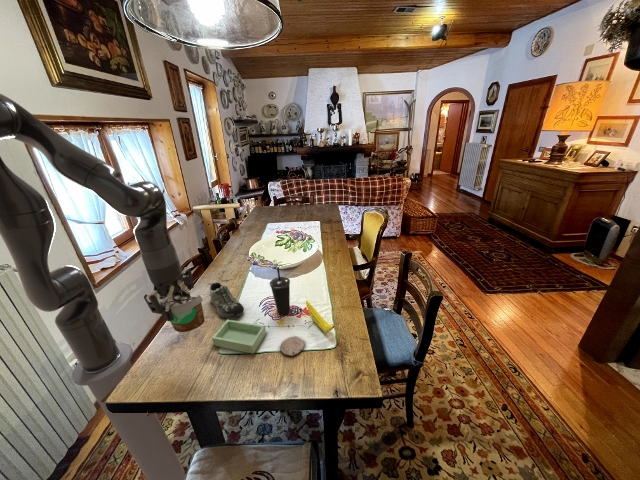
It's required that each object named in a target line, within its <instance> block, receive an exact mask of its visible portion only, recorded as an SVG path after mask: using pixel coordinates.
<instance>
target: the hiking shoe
mask: <svg viewBox="0 0 640 480" xmlns="http://www.w3.org/2000/svg"><path fill="white" fill-rule="evenodd" d="M209 294H210V302H211V304H212V305H214V306H215V307H216V309H217V314H218V315H219V317H220V318H223V319H226V320H235V319H238V318H239V317H240V316H242V314H244V311H245V307H244V306H243V304H242V303H240V301H238V300H237V298H236V297H235V296H233V294H232V292H231V291H230V289H229V287H228V286H227V285H224V284H223V285H222V284H221V283H220V282H214V283H211V284H210V286H209Z"/></svg>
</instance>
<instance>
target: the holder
mask: <svg viewBox="0 0 640 480" xmlns="http://www.w3.org/2000/svg"><path fill="white" fill-rule="evenodd" d="M266 335H267V330H266V325H263V324H262V325H261V324H257V323H250V322H245V321H238V320H234V319H226V321H225V322H224V323H223V324H222V325H221V327H219V329H218V330H217V331H216V332H215V334H213V336H212V337H211V340H212V344H213V346H215V347H220V348H223V349H229V350H234V351H238V352H243V353H247V354H252V355H254V354H255V353H256V351H257V349H258V348H259V346H260V345H261V343H262V341H263V339H264V338H265V336H266Z"/></svg>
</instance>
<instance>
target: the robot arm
mask: <svg viewBox="0 0 640 480" xmlns="http://www.w3.org/2000/svg"><path fill="white" fill-rule="evenodd" d="M6 139H13V140H16V141H19V142H21V143H23V144H26V145H28V146H30V147H32V148H34V149H36V150H38V151H39V152H40V153H42V154H43V155H44V156H45V158H46V159H47V161H48V162H49V164H50V165H51V166H52V167H53V169H55V171H57V172H58V173H59V174H60V175H61V176H63V177H65V178H66V179H68V180H70V181H71V182H73V183H76V184H77V185H79V186H81V187H82V188H84V189H87V190H88V191H91V192H92V193H94V194H95V195H96V196H98V198H99V199H101V200H102V201H103V202H104V203H106V205H107V206H109V207H110V208H111V209H113V210H114V211H115V212H117V213H118V214H120V215H122V216H125V217H129V218H134V219H135V218H139V221H138V223H137V225H136V226H135V227H134V228H133V235H134V238H135V241H136V243H137V246H138V249H139V251H140V256H141V260H142V262H143V265H144V268H145V270H146V273H147V275H148V278H149V281H150V282H151V283H152V285H153V290H152V291H151V292H150V293H149V294H144V295H143V299H144V301H145V303H146V304H147V307H148V308H149V309H150V312H151V313H153V314H158V315H161V317H162V319H163V321H167V322H170V321H173V320H174V318H173V316H172V313H171V310H170V309H169V307H170V302H171V301H172V296H175V294H176V293H178V292H179V293H181V294H180V295H185V296H189V297H192V296H191V290H192V289H194V288H195V283H194V278H193V274H192V270H191V269H187V268H182V266H181V263H180V259H179V257H178V253H177V250H176V247H175V245H174V244H173V240H172V238H171V235H170V232H169V229H168V225H167V223H168V216H167V203H166V198H165V196H164V194H163V192H162V190H161V189H160V187H159V186H158V185H157V184H155V183H153V182H151V181H145V180H144V181H138V182H135V183H132V184H126V183H124V182H122V179H123V177H122V174H121V171H119V170H118V169H117V168H116V167H115V166H113V165H111V164H109V163H107V162H106V161H104V160H102V159H100V158H99V157H97V156H95V155H93V154H91V153H89V152H87V151H86V150H84V149H82V148H81V147H79V146H77V145H76V144H74V143H72V142H71V141H70V140H68V139H66V138H65V137H64V136H62V135H61V134H59V133H58V132H57V131H56V130H54V129H53V128H51V127H50V126H49V125H47V124H46V123H45V122H44V121H42V120H40V119H39V118H38V117H36V116H35V115H34V114H32V113H31V112H29V110H27V109H25V107H23V106H21V105H20V104H19V103H17V102H16V101H14V100H13V99H11V98H9V97H8V96H6V95H4V94H3V93H0V140H6ZM55 232H56V221H55V218H54V216H53V213H52V210H51V209H50V206H49V204H48V202H47V199H46V198H45V197H44V196H43V195H42V194H41V193H40V192H39V191H38V190H37V189H36V188H35V187H33V185H31V184H29V183H28V182H27V181H26V180H24V179H23V178H21V177H20V176H18V175H17V174H16V173H15V172H14V171H12V170H11V169H10V168H9V166H8V165H7V164H6V163H5V161H4V160H3V158H2V156H1V155H0V237H1V239H2V240H3V242H4V244H5V246H6V248H7V250H8V252H9V254H10V256H11V258H12V260H13V263H14V265H15V269H16V271H17V274H18V277H19V280H20V283H21V285H22V288H23V290H24V293H25V294H26V295H25V296H26V297H27V299H28V300H29V301H30V303H31V304H32V305H33V306H34V307H35V308H37V309H38V310H40V311H42V312H46V313H50V312H55V311H57V310H60V309H61V308H62V309H61V310H60V311H59V312H58V313H57V315H56V316H55V318H54V324H55V325H56V327H57V329H58V330H59V332H60V333H61V335H62V337H63V338H64V340H65V342H66V343H67V345H68V347H69V348H70V350H71V352H72V353H73V354H74V357H75V358H76V360H77V361H78V363H80V364H81V366H82V368H83V370H84V372H85V373H87V374H95V373H99V372H101V371H104V370H106V369H107V368H109V367H111V366H112V365H113V364H114V363H116V362H117V360H118V359H119V358H120V356H121V351H120V350H119V348H118V346H117V345H116V343H118V342H117V341H116V339H115V338H114V337H113V334H112V332H111V331H110V329H109V327H108V325H107V322H106V321H105V319H104V316H103V315H102V314H101V311H100V310H99V301H98V299H97V297H96V294H95V291H94V289H93V287H92V284H91V282H90V280H89V278H88V276H87V275H86V274H85V273H84V272H83V271H82V270H81V269H80V268H78V267H76V266H74V265H63V266H61V267H58V268H56V269H54V270H51V271H50V268H49V255H50V250H51V248H52V247H51V246H52V243H53V240H54V238H55V237H54V236H55ZM163 296H164V297H167V299H165V298H164V297H163ZM164 303H165V306H164Z"/></svg>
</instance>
